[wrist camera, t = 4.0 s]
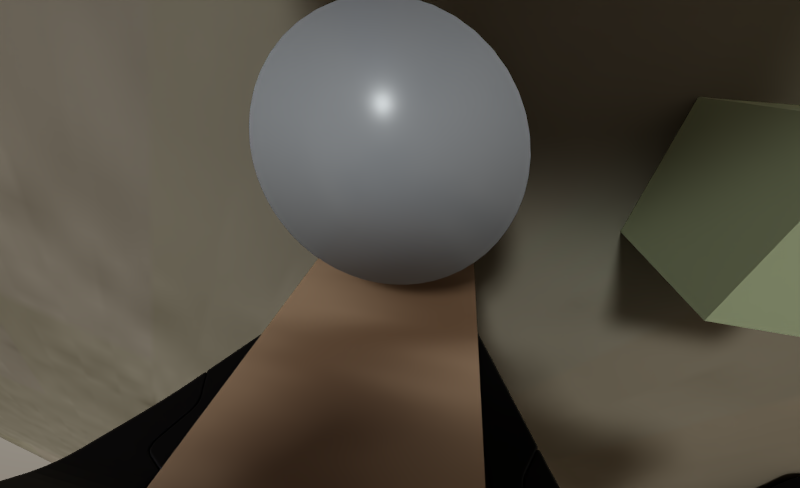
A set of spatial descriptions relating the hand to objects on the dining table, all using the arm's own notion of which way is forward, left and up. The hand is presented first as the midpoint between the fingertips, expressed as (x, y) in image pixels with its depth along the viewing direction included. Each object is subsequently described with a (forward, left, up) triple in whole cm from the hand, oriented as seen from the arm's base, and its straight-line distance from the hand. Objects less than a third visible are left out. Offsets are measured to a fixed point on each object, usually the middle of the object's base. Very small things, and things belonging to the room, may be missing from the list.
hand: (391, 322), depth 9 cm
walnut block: (0, 0, -2) cm, 2 cm away
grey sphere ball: (0, -6, -2) cm, 6 cm away
